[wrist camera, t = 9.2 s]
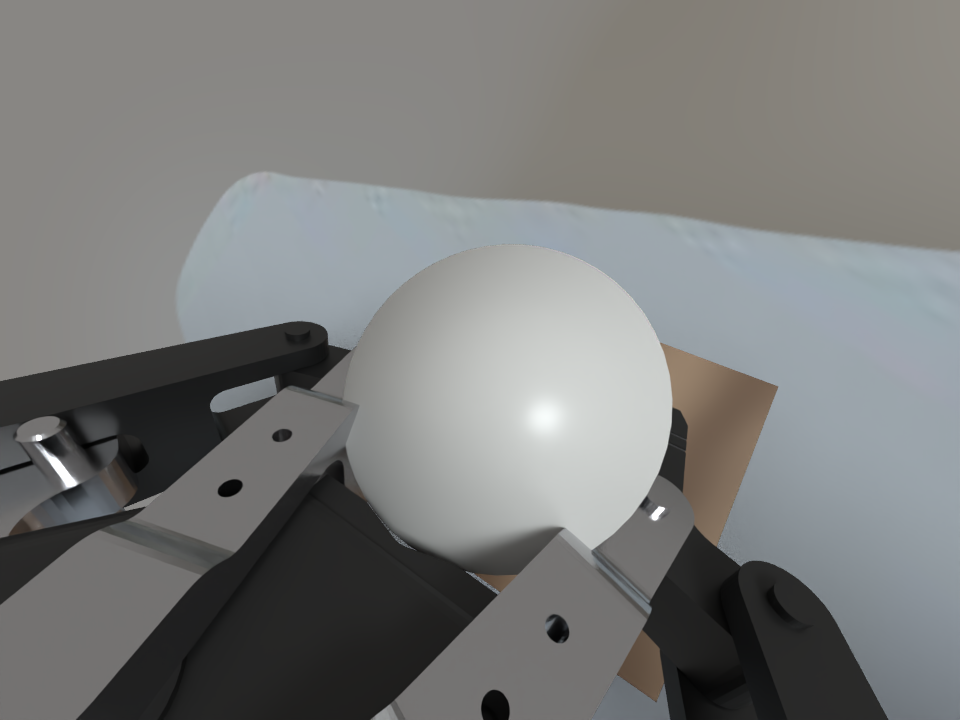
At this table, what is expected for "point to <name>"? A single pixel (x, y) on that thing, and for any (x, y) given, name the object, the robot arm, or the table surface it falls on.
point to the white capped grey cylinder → (507, 407)
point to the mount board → (700, 467)
